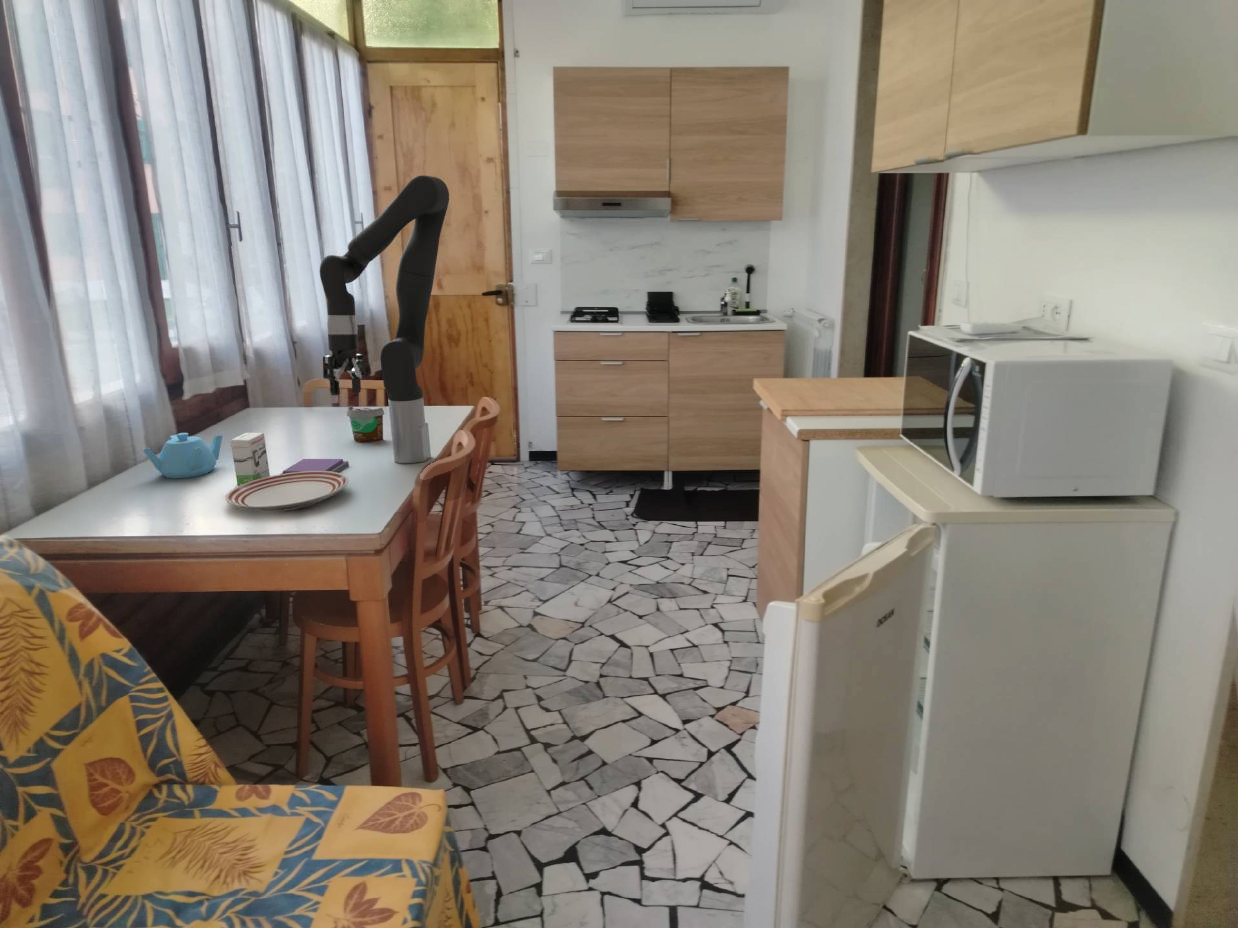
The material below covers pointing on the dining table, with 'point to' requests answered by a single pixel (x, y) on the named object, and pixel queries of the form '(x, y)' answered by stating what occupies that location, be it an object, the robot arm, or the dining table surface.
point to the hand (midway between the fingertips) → (346, 393)
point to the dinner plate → (287, 490)
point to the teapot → (186, 456)
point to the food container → (366, 424)
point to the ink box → (250, 457)
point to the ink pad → (318, 465)
